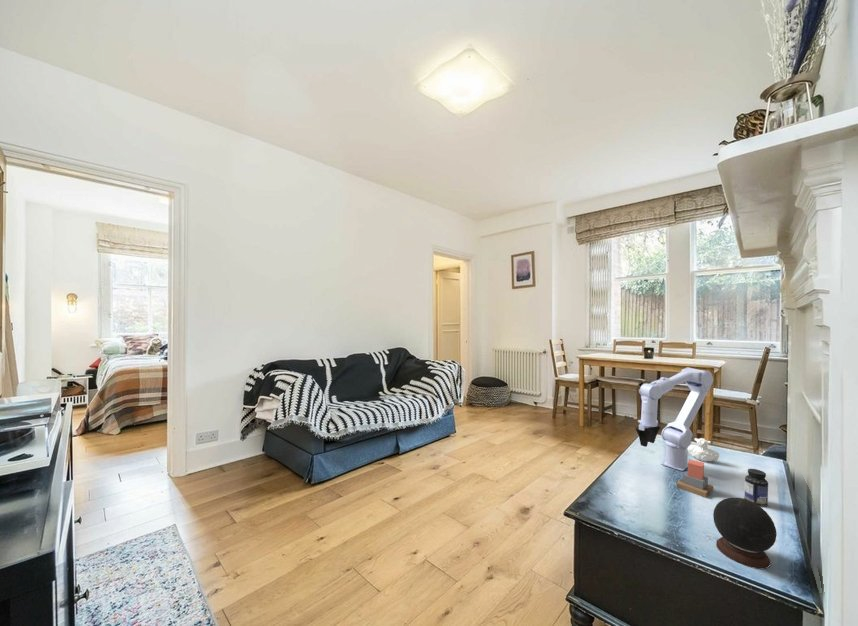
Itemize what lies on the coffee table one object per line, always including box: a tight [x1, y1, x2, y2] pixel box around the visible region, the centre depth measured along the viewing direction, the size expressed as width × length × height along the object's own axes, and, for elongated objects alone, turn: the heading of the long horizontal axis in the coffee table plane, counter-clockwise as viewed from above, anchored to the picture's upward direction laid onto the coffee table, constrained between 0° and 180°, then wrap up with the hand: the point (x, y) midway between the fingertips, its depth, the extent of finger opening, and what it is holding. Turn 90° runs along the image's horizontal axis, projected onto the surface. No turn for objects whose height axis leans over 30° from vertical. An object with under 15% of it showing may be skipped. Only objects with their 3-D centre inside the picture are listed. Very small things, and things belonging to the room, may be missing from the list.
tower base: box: [676, 477, 714, 499], centre depth 134 cm, size 9×9×2 cm
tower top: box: [683, 472, 709, 490], centre depth 135 cm, size 6×6×3 cm
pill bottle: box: [744, 468, 769, 507], centre depth 126 cm, size 6×6×11 cm
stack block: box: [687, 459, 705, 480], centre depth 135 cm, size 4×4×5 cm
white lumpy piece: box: [687, 437, 720, 463], centre depth 161 cm, size 12×8×11 cm
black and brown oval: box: [712, 496, 777, 569], centre depth 98 cm, size 13×13×15 cm
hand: (647, 444), depth 151 cm, fingers open, 7 cm apart
